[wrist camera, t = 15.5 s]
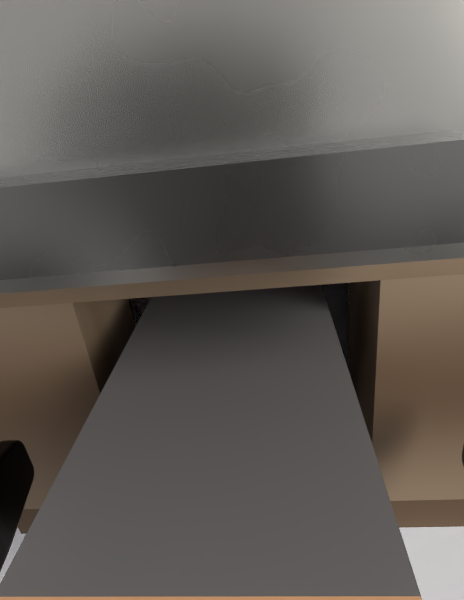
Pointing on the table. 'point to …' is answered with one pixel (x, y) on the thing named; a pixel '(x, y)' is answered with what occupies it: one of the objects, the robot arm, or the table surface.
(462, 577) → the table surface
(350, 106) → the panel
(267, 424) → the plug
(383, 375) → the socket board
